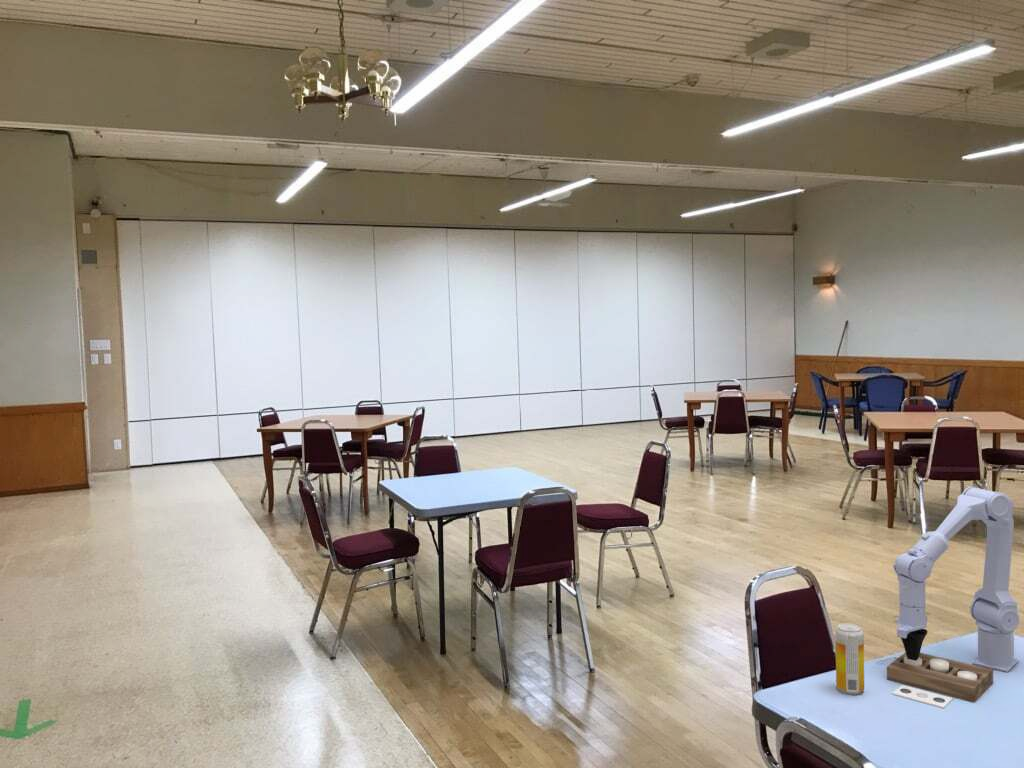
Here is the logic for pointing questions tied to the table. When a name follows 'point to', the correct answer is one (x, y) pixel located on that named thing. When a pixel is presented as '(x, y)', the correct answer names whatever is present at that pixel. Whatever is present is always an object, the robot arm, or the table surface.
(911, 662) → the left button
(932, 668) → the middle button
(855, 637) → the beer can
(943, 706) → the card
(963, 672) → the right button
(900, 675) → the button panel
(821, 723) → the table surface
